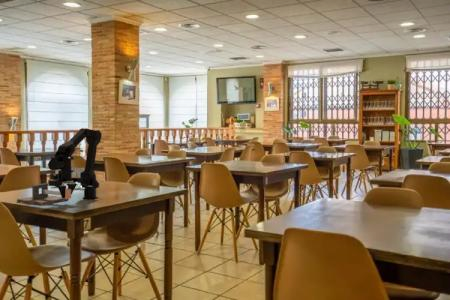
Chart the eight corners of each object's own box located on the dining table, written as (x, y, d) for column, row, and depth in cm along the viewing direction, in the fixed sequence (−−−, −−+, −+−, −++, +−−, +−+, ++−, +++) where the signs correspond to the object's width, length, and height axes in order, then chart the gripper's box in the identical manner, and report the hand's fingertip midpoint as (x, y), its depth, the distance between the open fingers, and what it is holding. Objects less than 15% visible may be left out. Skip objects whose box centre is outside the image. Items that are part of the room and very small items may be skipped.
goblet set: (93, 187, 322) (93, 167, 321) (87, 188, 316) (87, 168, 315) (59, 185, 332) (59, 165, 331) (53, 186, 326) (53, 166, 326)
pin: (41, 196, 264) (41, 187, 264) (47, 195, 267) (47, 186, 267) (65, 199, 255) (65, 189, 255) (71, 198, 258) (71, 188, 258)
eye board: (16, 201, 263) (16, 185, 263) (43, 197, 279) (43, 181, 278) (42, 205, 254) (41, 188, 253) (68, 200, 269) (68, 184, 269)
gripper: (68, 166, 268) (69, 193, 269) (41, 169, 252) (41, 198, 253) (83, 167, 263) (83, 195, 264) (56, 170, 247) (56, 200, 248)
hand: (66, 197), depth 257 cm, fingers closed on pin, 4 cm apart
